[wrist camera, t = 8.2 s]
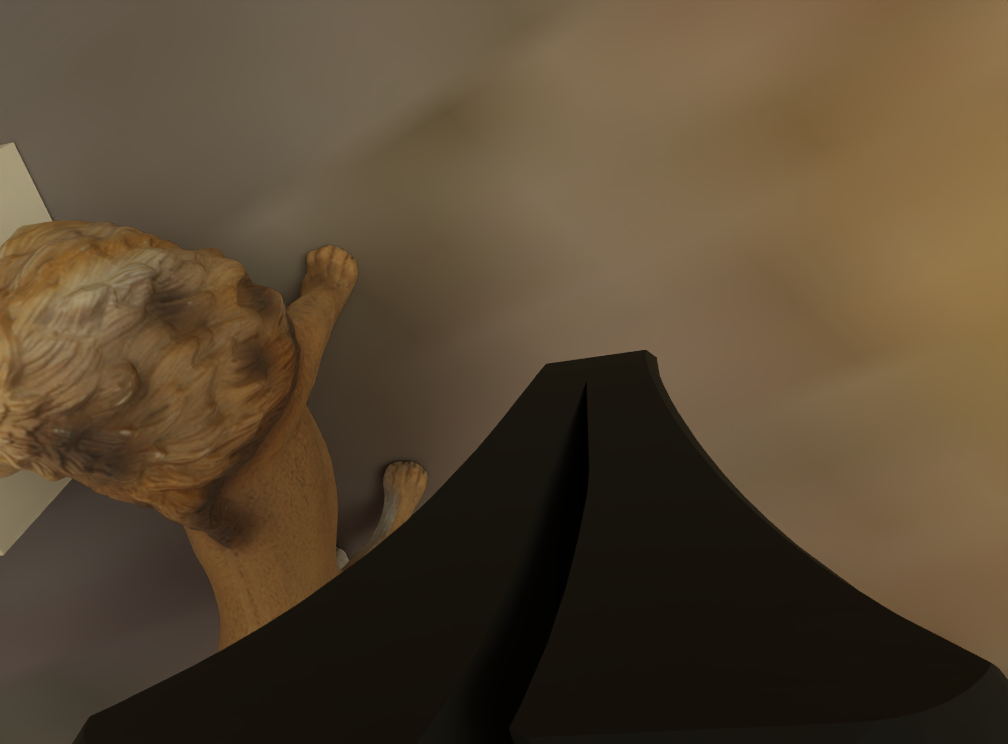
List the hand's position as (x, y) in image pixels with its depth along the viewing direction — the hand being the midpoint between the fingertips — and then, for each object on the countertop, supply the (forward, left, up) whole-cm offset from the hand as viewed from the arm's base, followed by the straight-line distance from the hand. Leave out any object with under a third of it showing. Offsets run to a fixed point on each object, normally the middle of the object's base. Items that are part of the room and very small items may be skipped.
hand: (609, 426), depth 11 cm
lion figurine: (+9, +4, -10) cm, 14 cm away
